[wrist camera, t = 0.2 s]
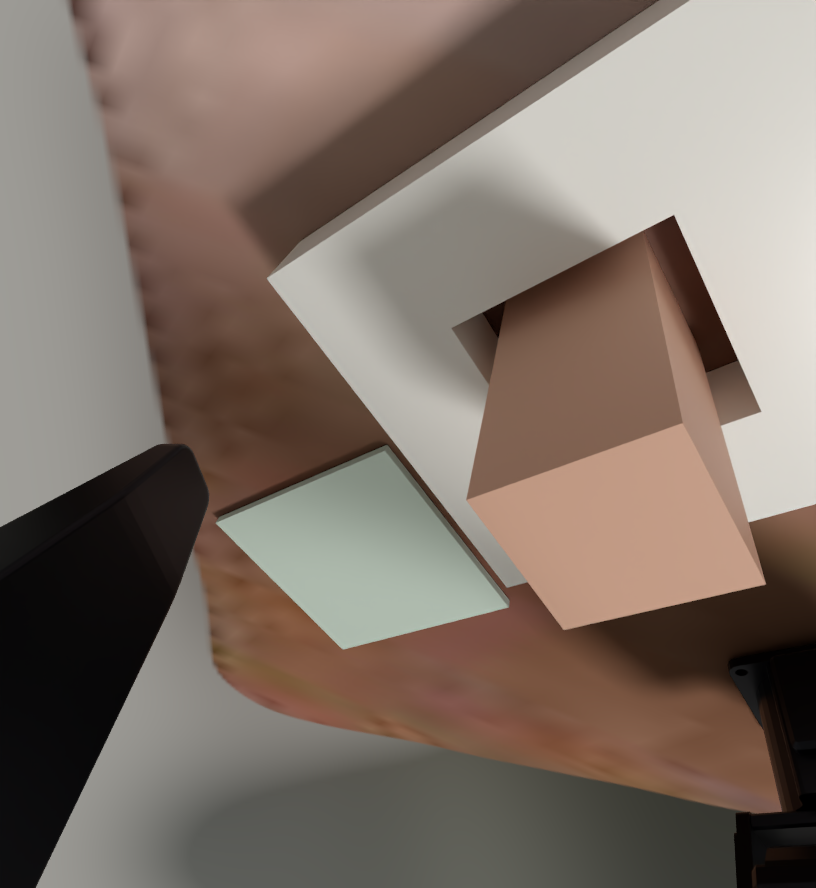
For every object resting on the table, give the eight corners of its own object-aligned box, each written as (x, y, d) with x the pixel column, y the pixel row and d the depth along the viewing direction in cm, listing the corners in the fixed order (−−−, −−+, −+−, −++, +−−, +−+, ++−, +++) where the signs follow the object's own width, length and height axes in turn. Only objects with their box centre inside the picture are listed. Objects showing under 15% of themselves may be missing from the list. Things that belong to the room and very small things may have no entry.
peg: (698, 346, 21) (765, 583, 14) (569, 399, 23) (564, 630, 16) (642, 226, 19) (683, 423, 12) (507, 296, 22) (466, 499, 14)
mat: (509, 600, 30) (508, 607, 30) (344, 643, 35) (342, 649, 35) (387, 444, 26) (384, 450, 26) (219, 517, 31) (215, 522, 31)
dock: (917, 405, 21) (959, 465, 19) (513, 532, 28) (506, 587, 26) (768, -74, 15) (803, -75, 13) (300, 241, 22) (266, 278, 19)
